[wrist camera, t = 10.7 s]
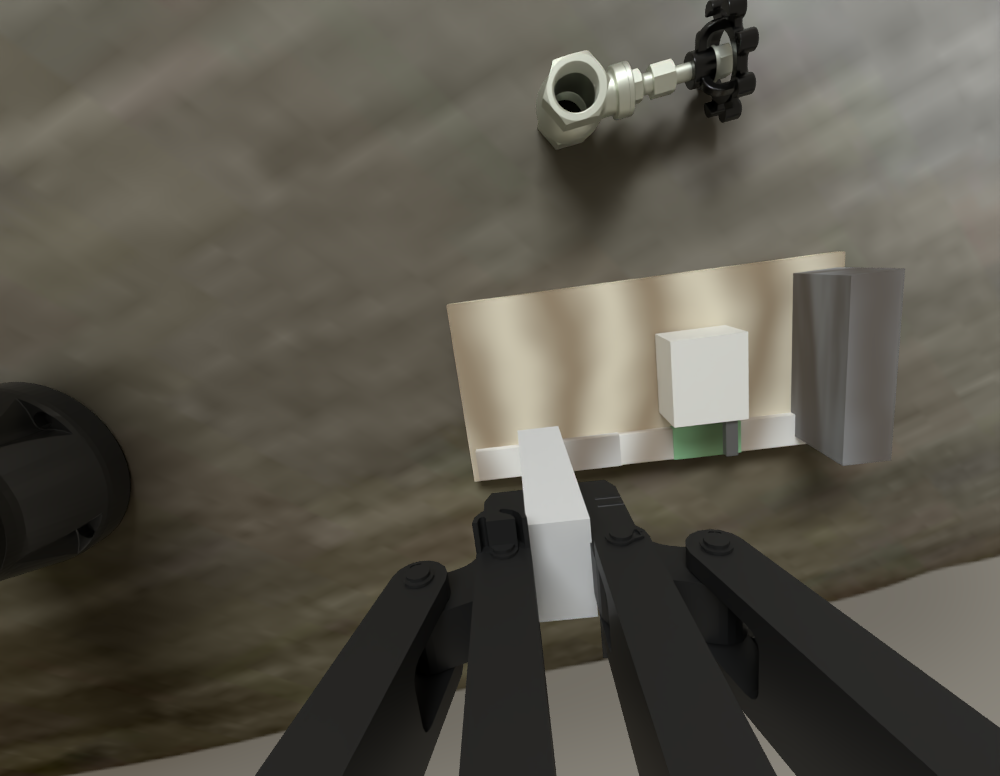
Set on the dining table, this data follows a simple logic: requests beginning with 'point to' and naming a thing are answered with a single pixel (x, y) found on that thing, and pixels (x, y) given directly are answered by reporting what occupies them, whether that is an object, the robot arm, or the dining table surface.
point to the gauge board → (633, 367)
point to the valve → (650, 79)
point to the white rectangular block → (704, 379)
